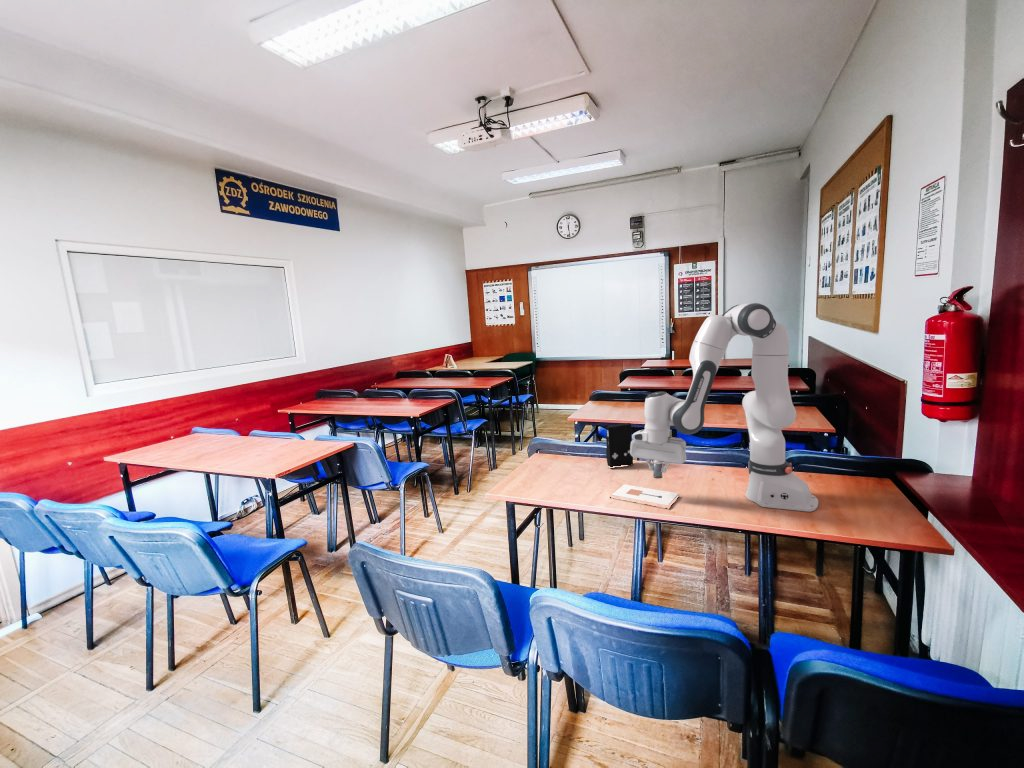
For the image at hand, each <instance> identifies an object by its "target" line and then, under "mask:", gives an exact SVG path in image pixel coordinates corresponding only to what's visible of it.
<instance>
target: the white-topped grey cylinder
mask: <svg viewBox="0 0 1024 768" xmlns="http://www.w3.org/2000/svg"><path fill="white" fill-rule="evenodd" d="M652 465H653V471H652V473H653V476H652V477H653V479H663V472H661V468H662V467H663V461H657V460H652Z"/></svg>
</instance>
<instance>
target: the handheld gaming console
mask: <svg viewBox="0 0 1024 768" xmlns="http://www.w3.org/2000/svg"><path fill="white" fill-rule="evenodd" d="M632 433H633V432H632V424H631V423H630V422H629V423H628V422H627V423H623V424H621V423H620V424H616V425H609V426H606V434H605V439H606V440H605V441H606V449H605V452H606V453H605V454H606V457H605V458H606V464H607V466H610V467H613V466H621V465H630V466H632V465H634V457H632V456H631V454H630V446H631V441H632V440H633V439H632V435H633V434H632ZM631 464H632V465H631Z"/></svg>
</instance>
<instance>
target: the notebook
mask: <svg viewBox="0 0 1024 768" xmlns="http://www.w3.org/2000/svg"><path fill="white" fill-rule="evenodd" d="M611 495H613V496H618V497H624V498H629V499H635V500H641V501H645V500H646V502H651V503H656V504H661V505H666V506H668V505H669V504H670V503H671V502H672V501H673V500H674V499H675V498H676V497H677V496H678V495H679V493H677V492H672V491H665V490H659V489H654V488H648V487H641V486H636V485H630V484H625V483H624V484H622V486H620V487H619V488H618V489H616V491H614V492H613V493H612V494H611Z"/></svg>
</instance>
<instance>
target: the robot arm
mask: <svg viewBox="0 0 1024 768" xmlns="http://www.w3.org/2000/svg"><path fill="white" fill-rule="evenodd" d="M737 335H739V336H749V337H750V339H751V342H752V354H751V355H752V357H751V373H750V374H751V379H752V381H753V384H754V385H753V386H754V390H752V391H751V390H750V391H748V392H747V393H746V394H745V395H744V397H743V398H742V400H741V401H742V402H741V405H742V408H743V411H744V415H745V422H746V425H747V430H748V435H749V436H748V437H749V459H748V462H747V463H748V474H749V475H748V483H747V488H746V491H745V498H747V500H749V501H751V502H754V503H756V504H757V505H758V506H760V507H762V508H769V509H771V508H772V509H781V510H788V511H789V510H790V511H799V512H808V513H809V512H810V513H811V512H813V511H816V510H817V509H818V508H819V499H818V498H817V497H816V495H814V494H811V489H810V486H809V484H808V482H806V481H805V480H803V479H802V478H800V477H799V476H798V475H796V474H795V473H794V472H792V471H793V466H792V465H793V464H792V462H788V461H786V439H785V436H784V435H783V431H782V429H785V428H788V427H790V426H791V425H793V424H794V422H795V420H796V418H797V409H796V407H795V406H794V404H793V400H792V396H791V391H790V389H791V388H790V385H789V384H790V383H789V376H788V375H789V359H790V357H789V355H790V344H789V343H790V341H789V334H788V328H787V327H786V326H785V325H784V324H782V323H780V322H777V321H776V320H775V318H774V315H773V312H772V311H771V310H770V307H767V306H766V305H764V304H762V303H757V302H753V303H752V302H745V303H742V304H736V305H734V306H733V305H732V307H730V308H729V309H727V310H726V311H725V312H723V313H722V314H713V315H710V316H707V317H706V319H705V320H704V321H703V323H702V324H701V326H700V328H699V330H698V332H697V333H696V335H695V338H694V339H693V342H692V345H691V347H690V352H689V357H688V359H689V363H690V366H691V369H692V381H691V385H690V387H689V390H688V393H687V396H686V398H685V399H681V398H678V397H675V396H673V395H670V394H669V393H667V392H666V391H655V392H651V393H649V394H648V395H647V396H646V397H645V399H644V400H645V401H644V409H643V413H644V414H643V415H644V416H643V417H644V420H645V424H644V429H641V430H637V431H636V432H634V433H633V434H632V441H631V446H630V454H631V456H632V457H633V458H639V459H644V460H645V462H646V464H647V465H648V470H649V471H652V472H653V462H652V461H653V460H657V461H662V462H663V464H664V466H662V468H661V472H662V474H663V473H665V474H666V473H667V472H668V471H667V468H668V466H669V465H670V464H671V463H673V464H679V465H683V464H684V463H685V462H686V461H687V452H686V451H687V450H686V449H687V442H686V440H685V439H683V438H681V437H676V436H675V437H673V436H670V433H671V432H670V427H671V426H674V428H675V429H676V431H677V432H679V433H680V434H683V435H687V436H688V435H693V434H697V433H699V431H701V429H702V428H703V426H704V423H705V407H706V404H707V401H708V398H709V395H710V392H711V389H712V386H713V384H714V381H715V377H716V374H717V372H718V370H719V367H720V365H721V364H722V363H721V362H722V360H723V358H724V356H725V354H726V351H727V349H728V346H729V343H730V342H731V340H732V339H733V338H734V337H735V336H737Z"/></svg>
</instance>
